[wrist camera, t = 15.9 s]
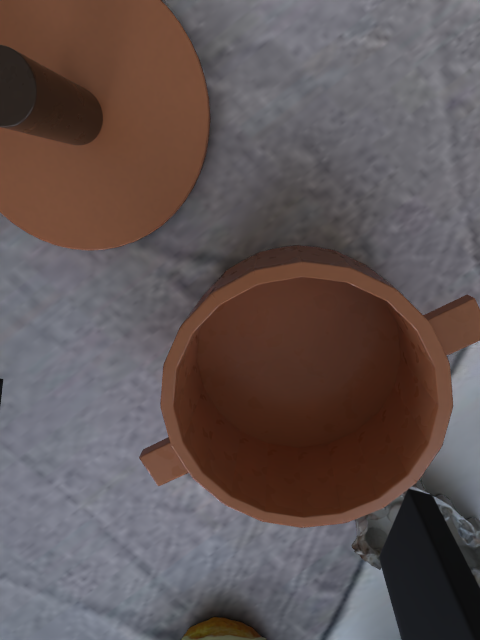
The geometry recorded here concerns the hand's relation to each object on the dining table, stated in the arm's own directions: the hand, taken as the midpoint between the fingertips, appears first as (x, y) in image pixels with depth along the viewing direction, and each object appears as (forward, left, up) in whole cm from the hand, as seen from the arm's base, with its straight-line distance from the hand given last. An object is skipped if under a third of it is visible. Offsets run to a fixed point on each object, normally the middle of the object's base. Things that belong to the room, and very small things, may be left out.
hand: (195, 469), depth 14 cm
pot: (+5, -2, -20) cm, 21 cm away
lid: (-14, +10, -19) cm, 26 cm away
